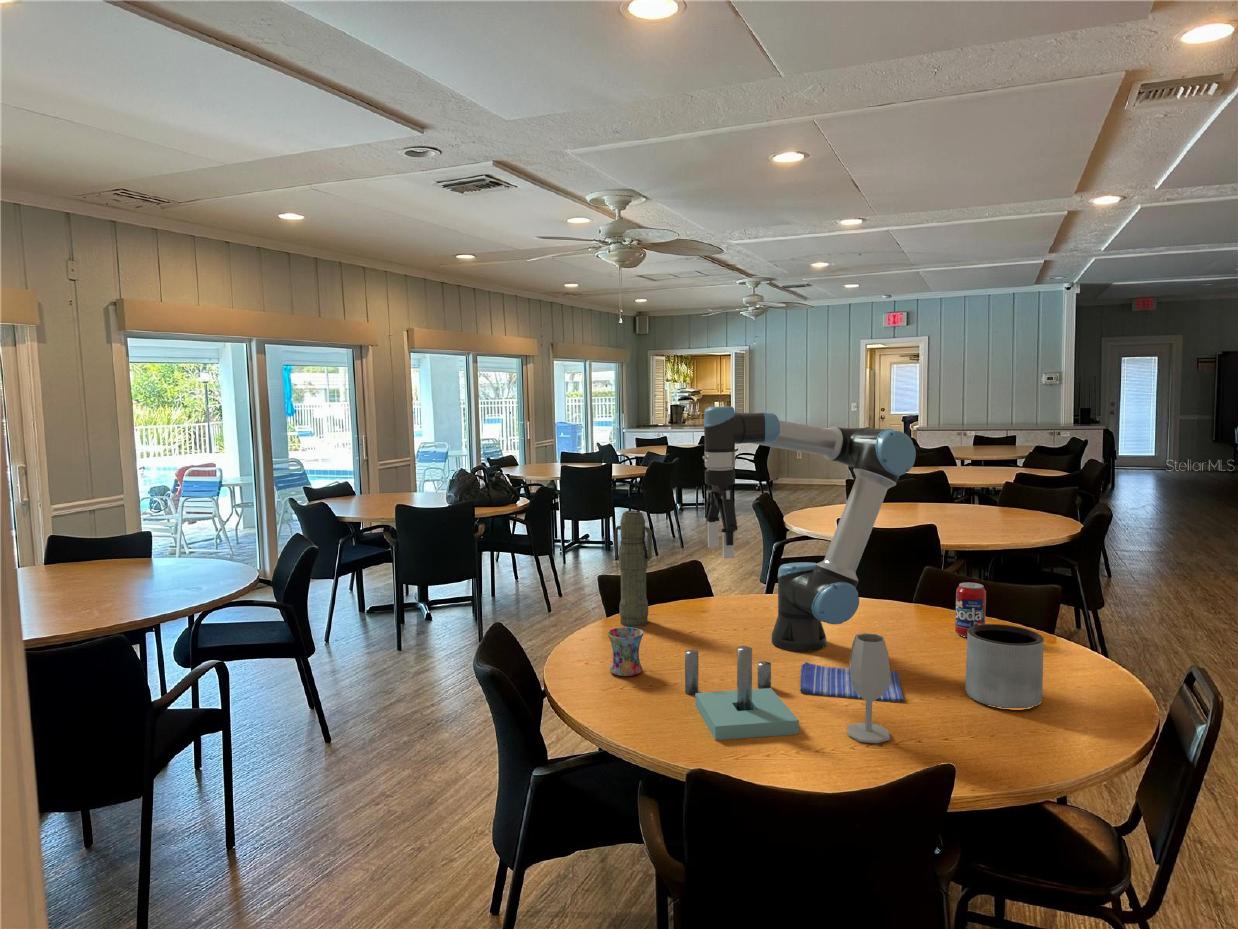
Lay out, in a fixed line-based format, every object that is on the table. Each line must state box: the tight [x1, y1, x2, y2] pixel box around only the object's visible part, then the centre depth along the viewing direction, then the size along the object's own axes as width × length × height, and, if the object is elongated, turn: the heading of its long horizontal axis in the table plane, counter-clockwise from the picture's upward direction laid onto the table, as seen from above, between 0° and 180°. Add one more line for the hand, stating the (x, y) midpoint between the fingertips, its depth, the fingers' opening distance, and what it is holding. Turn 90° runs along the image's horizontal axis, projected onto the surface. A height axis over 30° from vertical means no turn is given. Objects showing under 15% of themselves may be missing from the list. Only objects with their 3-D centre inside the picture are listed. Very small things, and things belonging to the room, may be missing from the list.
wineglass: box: [847, 632, 891, 744], centre depth 162 cm, size 9×9×21 cm
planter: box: [964, 623, 1045, 708], centre depth 181 cm, size 16×16×16 cm
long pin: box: [736, 645, 753, 711], centre depth 172 cm, size 3×3×16 cm
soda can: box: [954, 581, 987, 638], centre depth 227 cm, size 8×8×15 cm
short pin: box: [757, 660, 772, 689], centre depth 190 cm, size 3×3×6 cm
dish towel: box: [799, 661, 905, 703], centre depth 191 cm, size 17×24×3 cm
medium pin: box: [684, 649, 700, 696], centre depth 188 cm, size 3×3×10 cm
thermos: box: [613, 510, 653, 628], centre depth 243 cm, size 9×12×35 cm
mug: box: [607, 626, 645, 677], centre depth 203 cm, size 12×9×11 cm
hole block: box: [694, 687, 800, 741], centre depth 172 cm, size 18×18×3 cm
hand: (720, 552), depth 197 cm, fingers open, 13 cm apart
